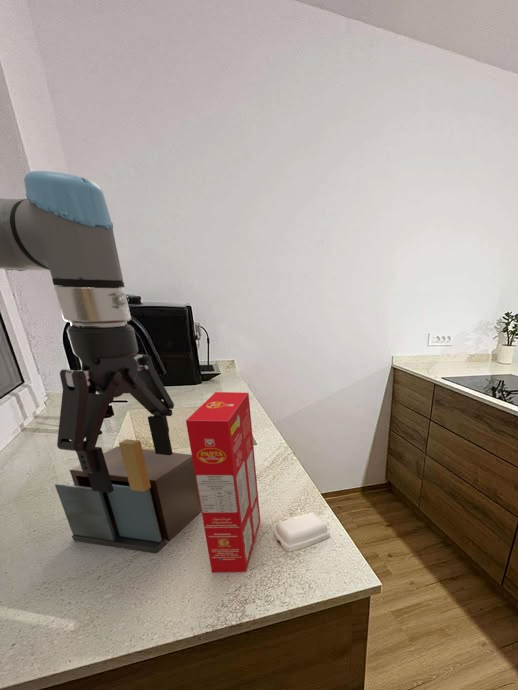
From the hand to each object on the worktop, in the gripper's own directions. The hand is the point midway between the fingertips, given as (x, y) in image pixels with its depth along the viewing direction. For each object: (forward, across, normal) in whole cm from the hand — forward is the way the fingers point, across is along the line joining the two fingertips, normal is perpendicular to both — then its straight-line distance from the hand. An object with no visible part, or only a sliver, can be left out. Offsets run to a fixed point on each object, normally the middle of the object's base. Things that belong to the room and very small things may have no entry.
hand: (136, 470), depth 60 cm
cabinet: (+14, +5, +7) cm, 17 cm away
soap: (+15, +9, -23) cm, 29 cm away
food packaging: (+15, +4, -13) cm, 20 cm away
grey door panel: (+13, 0, +3) cm, 13 cm away
